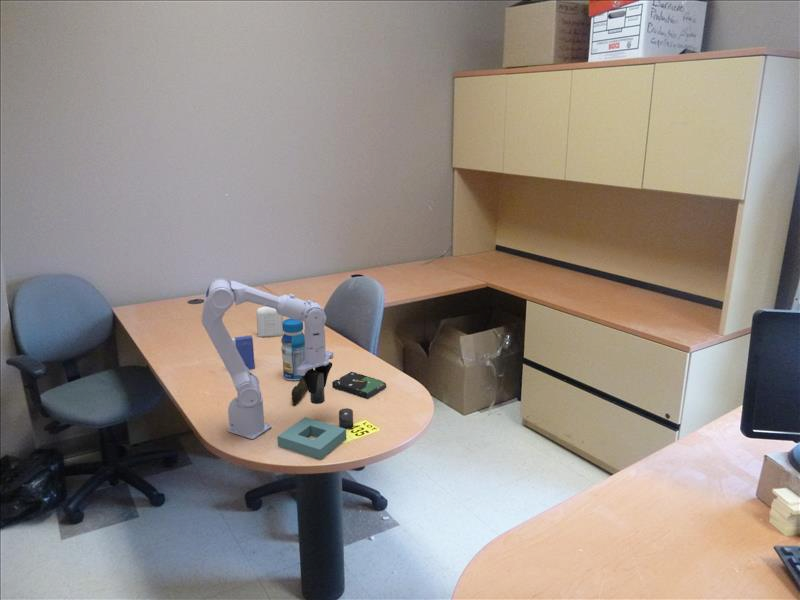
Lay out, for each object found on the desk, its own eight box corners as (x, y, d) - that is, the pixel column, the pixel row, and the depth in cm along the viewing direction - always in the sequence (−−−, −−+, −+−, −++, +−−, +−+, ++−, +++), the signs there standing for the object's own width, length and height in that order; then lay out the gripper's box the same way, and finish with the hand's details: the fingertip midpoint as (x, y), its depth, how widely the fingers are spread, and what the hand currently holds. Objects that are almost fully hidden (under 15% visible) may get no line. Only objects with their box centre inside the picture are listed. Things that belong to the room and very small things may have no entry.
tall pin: (307, 402, 168) (306, 373, 166) (316, 396, 172) (314, 368, 169) (319, 405, 167) (318, 376, 164) (327, 399, 170) (326, 371, 167)
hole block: (278, 446, 158) (277, 436, 157) (305, 426, 168) (304, 417, 167) (320, 459, 151) (320, 449, 150) (346, 438, 161) (346, 428, 160)
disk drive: (331, 389, 192) (368, 400, 184) (331, 382, 191) (367, 392, 183) (351, 378, 200) (387, 388, 192) (351, 371, 199) (386, 381, 191)
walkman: (253, 365, 209) (251, 334, 205) (254, 368, 207) (252, 336, 203) (230, 369, 206) (227, 337, 202) (232, 372, 204) (229, 340, 200)
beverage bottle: (305, 381, 196) (303, 325, 190) (280, 381, 196) (277, 325, 191) (310, 371, 204) (307, 317, 198) (285, 371, 205) (282, 316, 199)
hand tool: (303, 380, 198) (303, 368, 196) (315, 381, 197) (314, 368, 196) (284, 407, 180) (283, 393, 178) (297, 407, 179) (296, 394, 178)
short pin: (336, 427, 167) (336, 413, 166) (344, 421, 171) (343, 407, 169) (348, 430, 166) (347, 416, 164) (355, 424, 169) (355, 410, 168)
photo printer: (283, 332, 242) (281, 304, 238) (283, 336, 238) (281, 307, 234) (257, 334, 240) (255, 305, 236) (257, 338, 236) (255, 308, 232)
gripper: (311, 356, 156) (313, 402, 160) (341, 339, 168) (342, 382, 172) (290, 351, 159) (292, 397, 163) (321, 335, 172) (323, 378, 176)
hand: (317, 389), depth 168 cm, fingers closed on tall pin, 4 cm apart
